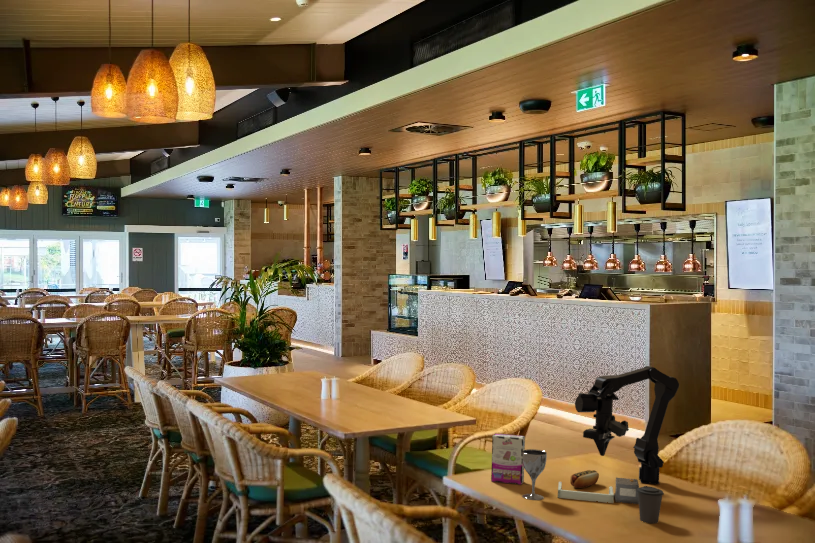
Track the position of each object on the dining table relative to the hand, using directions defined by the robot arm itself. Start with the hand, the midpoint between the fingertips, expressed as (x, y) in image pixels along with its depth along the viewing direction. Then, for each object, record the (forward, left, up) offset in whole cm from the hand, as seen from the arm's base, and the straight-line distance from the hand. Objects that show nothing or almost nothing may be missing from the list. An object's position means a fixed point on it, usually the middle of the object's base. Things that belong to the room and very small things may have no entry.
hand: (602, 455), depth 278 cm
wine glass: (+23, +25, -10) cm, 35 cm away
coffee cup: (-13, +38, -10) cm, 41 cm away
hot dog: (+6, +5, -11) cm, 13 cm away
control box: (-8, +17, -10) cm, 21 cm away
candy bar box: (+33, +9, -10) cm, 35 cm away
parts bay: (+6, +17, -10) cm, 20 cm away
